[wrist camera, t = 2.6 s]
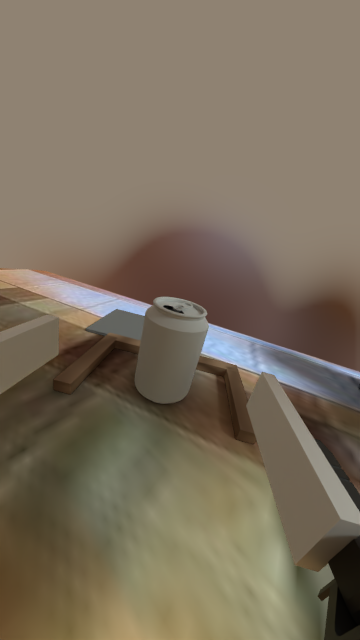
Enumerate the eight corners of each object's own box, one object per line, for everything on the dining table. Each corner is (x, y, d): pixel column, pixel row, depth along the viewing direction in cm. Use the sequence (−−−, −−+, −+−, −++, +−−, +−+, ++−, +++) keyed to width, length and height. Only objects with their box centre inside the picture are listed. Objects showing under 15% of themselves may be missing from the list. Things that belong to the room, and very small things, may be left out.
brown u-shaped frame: (233, 372, 32) (236, 365, 31) (253, 444, 20) (258, 434, 19) (108, 339, 33) (109, 332, 32) (53, 389, 20) (53, 379, 20)
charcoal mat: (166, 323, 45) (166, 321, 45) (153, 348, 33) (153, 345, 33) (116, 310, 46) (116, 309, 46) (85, 330, 34) (85, 328, 33)
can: (123, 378, 24) (135, 293, 20) (165, 363, 30) (181, 293, 25) (155, 420, 20) (179, 320, 16) (198, 394, 25) (225, 314, 21)
